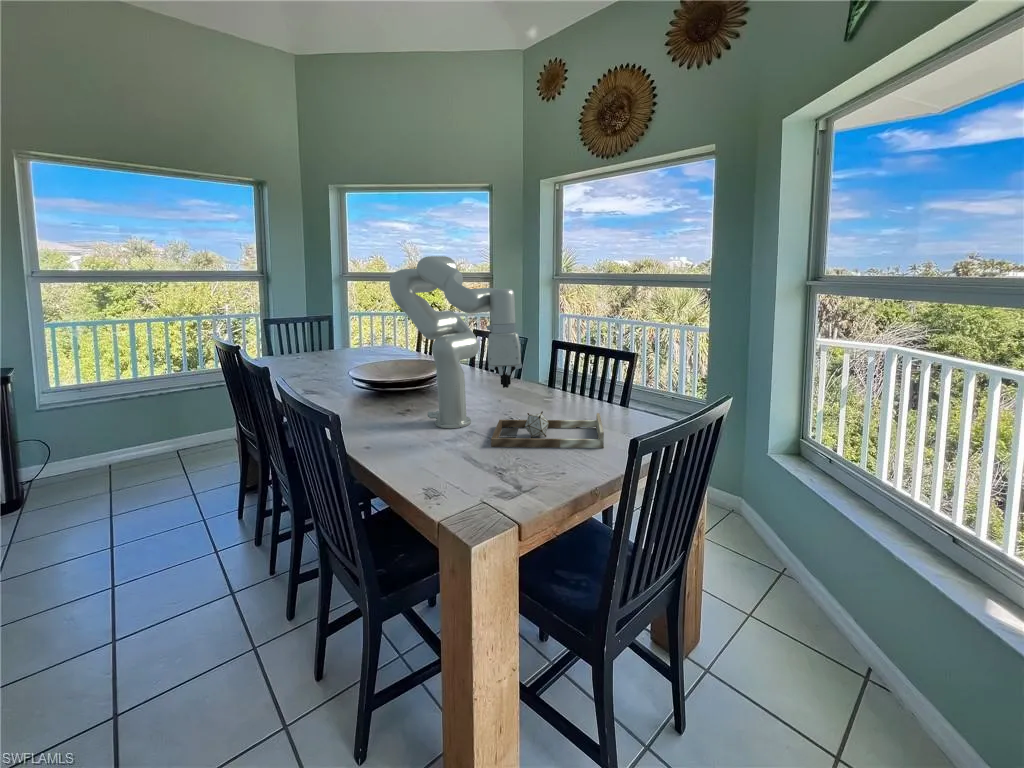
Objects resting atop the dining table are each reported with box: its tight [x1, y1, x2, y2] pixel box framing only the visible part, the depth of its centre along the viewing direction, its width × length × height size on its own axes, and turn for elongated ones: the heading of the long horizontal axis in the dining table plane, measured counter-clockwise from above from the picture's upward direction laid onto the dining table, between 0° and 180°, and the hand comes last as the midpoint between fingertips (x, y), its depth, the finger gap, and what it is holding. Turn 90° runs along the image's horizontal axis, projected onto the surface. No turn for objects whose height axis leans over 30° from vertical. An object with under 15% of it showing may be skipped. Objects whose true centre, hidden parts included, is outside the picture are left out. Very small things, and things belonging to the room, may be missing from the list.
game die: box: [522, 410, 552, 438], centre depth 161 cm, size 9×8×10 cm
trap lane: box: [490, 412, 605, 449], centre depth 161 cm, size 34×20×5 cm, turn 84°
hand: (505, 386), depth 159 cm, fingers closed
